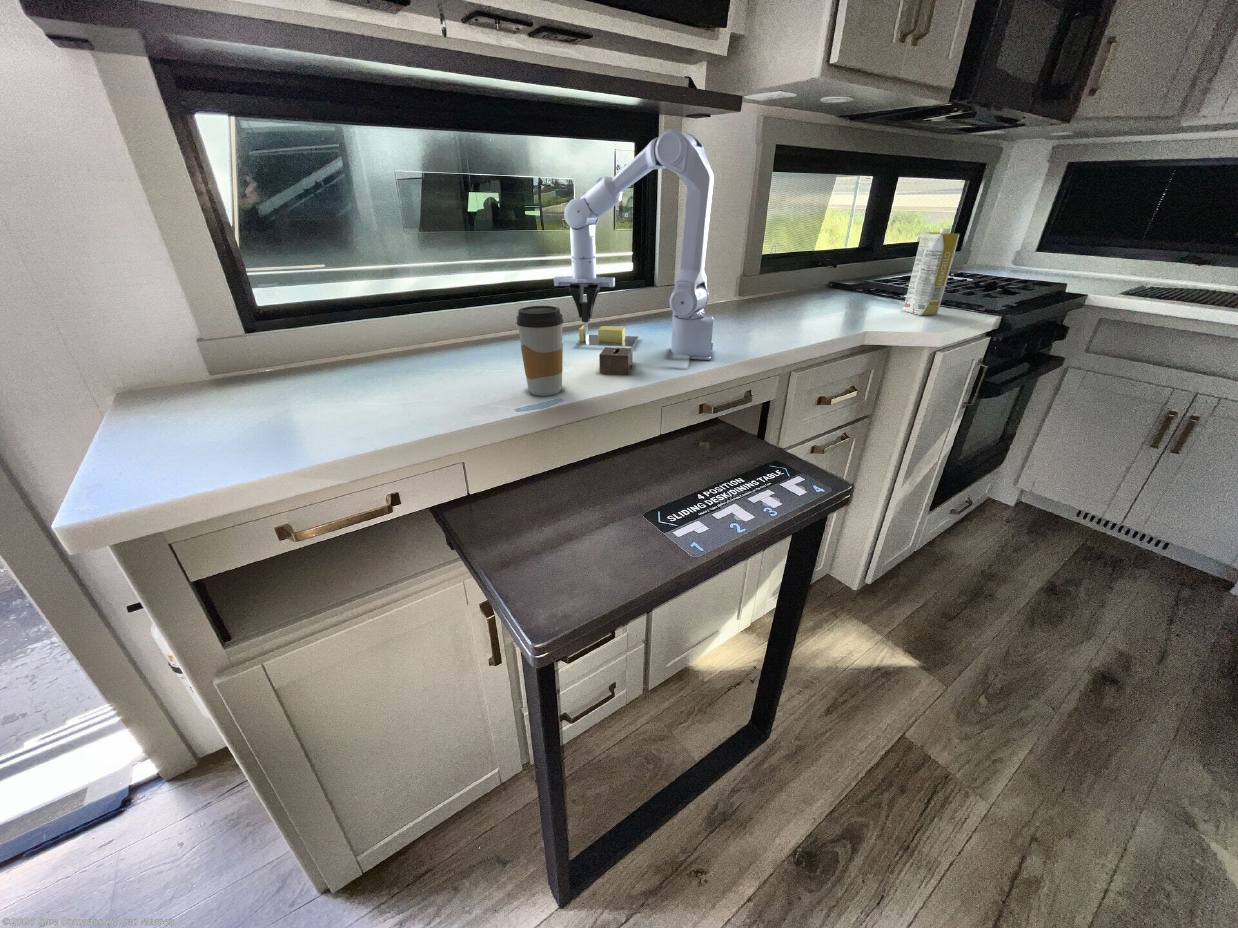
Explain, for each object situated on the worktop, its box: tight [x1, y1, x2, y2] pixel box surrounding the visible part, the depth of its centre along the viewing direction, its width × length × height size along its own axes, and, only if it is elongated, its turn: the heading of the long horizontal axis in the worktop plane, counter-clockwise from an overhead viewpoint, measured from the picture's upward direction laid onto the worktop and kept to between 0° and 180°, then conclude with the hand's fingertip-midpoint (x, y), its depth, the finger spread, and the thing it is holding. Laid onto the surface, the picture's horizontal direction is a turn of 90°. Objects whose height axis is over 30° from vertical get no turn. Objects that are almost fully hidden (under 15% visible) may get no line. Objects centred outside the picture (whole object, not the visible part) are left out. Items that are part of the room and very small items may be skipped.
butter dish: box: [576, 334, 639, 348], centre depth 127 cm, size 14×10×1 cm
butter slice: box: [578, 325, 585, 341], centre depth 126 cm, size 1×4×3 cm, turn 170°
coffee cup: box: [516, 305, 564, 397], centre depth 93 cm, size 8×8×15 cm
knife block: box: [598, 346, 634, 376], centre depth 107 cm, size 6×6×4 cm
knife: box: [581, 301, 591, 341], centre depth 125 cm, size 2×3×9 cm, turn 169°
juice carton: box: [902, 227, 960, 316], centre depth 153 cm, size 9×8×24 cm
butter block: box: [597, 325, 626, 343], centre depth 125 cm, size 6×4×3 cm, turn 80°
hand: (585, 317), depth 125 cm, fingers closed on knife, 1 cm apart
